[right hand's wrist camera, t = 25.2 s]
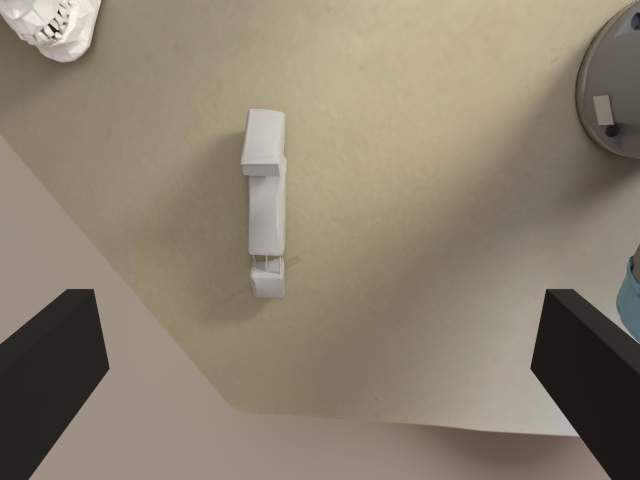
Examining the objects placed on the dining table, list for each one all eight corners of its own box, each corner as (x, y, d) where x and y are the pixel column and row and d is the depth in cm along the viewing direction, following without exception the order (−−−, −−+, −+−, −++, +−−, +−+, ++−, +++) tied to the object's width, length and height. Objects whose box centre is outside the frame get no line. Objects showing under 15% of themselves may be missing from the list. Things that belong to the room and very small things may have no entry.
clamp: (248, 106, 42) (235, 119, 36) (287, 107, 42) (280, 120, 36) (256, 281, 51) (246, 315, 45) (287, 282, 51) (282, 316, 45)
